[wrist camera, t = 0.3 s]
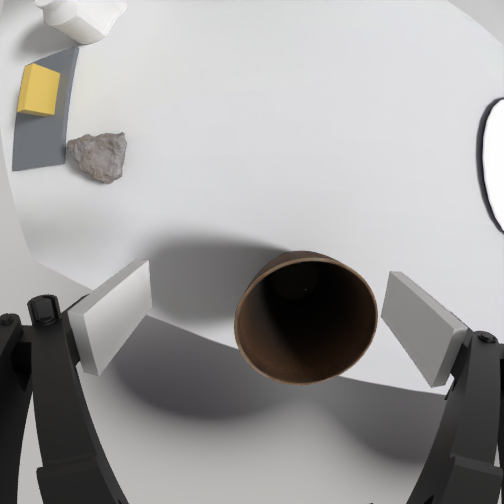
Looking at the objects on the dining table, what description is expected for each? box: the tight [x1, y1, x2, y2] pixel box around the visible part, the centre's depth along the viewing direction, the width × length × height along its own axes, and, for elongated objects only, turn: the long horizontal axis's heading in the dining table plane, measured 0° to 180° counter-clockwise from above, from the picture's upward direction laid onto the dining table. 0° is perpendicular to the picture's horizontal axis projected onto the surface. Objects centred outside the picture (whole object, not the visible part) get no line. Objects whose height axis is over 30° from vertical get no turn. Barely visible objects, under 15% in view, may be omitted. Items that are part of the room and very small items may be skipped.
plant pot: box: [234, 251, 378, 385], centre depth 36 cm, size 15×15×16 cm
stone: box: [67, 132, 127, 184], centre depth 37 cm, size 10×8×6 cm
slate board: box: [13, 47, 79, 171], centre depth 37 cm, size 22×14×1 cm, turn 177°
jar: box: [35, 0, 126, 44], centre depth 26 cm, size 12×10×15 cm
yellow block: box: [17, 63, 60, 117], centre depth 32 cm, size 8×2×8 cm, turn 177°
